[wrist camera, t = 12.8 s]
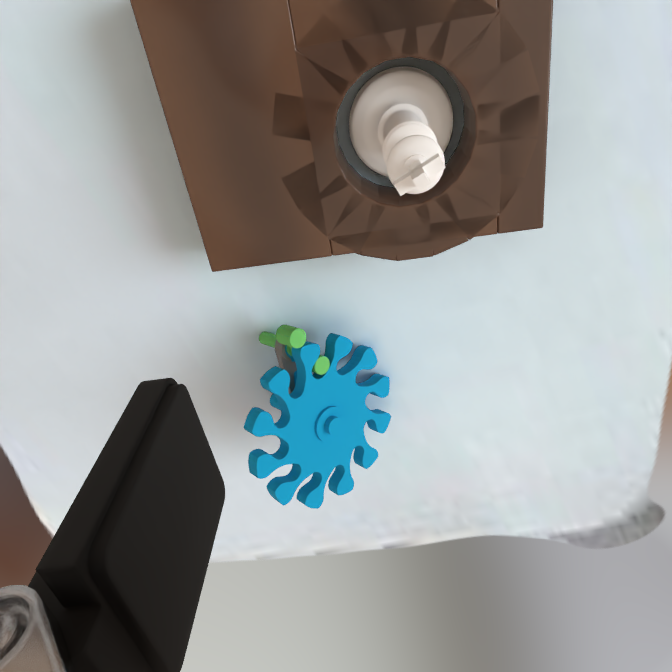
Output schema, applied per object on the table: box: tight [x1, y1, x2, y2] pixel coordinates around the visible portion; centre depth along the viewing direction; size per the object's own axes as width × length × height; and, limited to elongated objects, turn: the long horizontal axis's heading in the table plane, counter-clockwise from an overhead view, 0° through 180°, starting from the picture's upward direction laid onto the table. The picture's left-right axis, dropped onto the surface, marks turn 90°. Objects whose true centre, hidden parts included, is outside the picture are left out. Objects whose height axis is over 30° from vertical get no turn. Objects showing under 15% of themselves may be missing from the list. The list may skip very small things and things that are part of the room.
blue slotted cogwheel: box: [244, 325, 391, 508], centre depth 31 cm, size 11×6×10 cm
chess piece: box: [349, 66, 453, 196], centre depth 21 cm, size 5×5×10 cm
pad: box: [130, 0, 553, 272], centre depth 24 cm, size 16×13×3 cm
